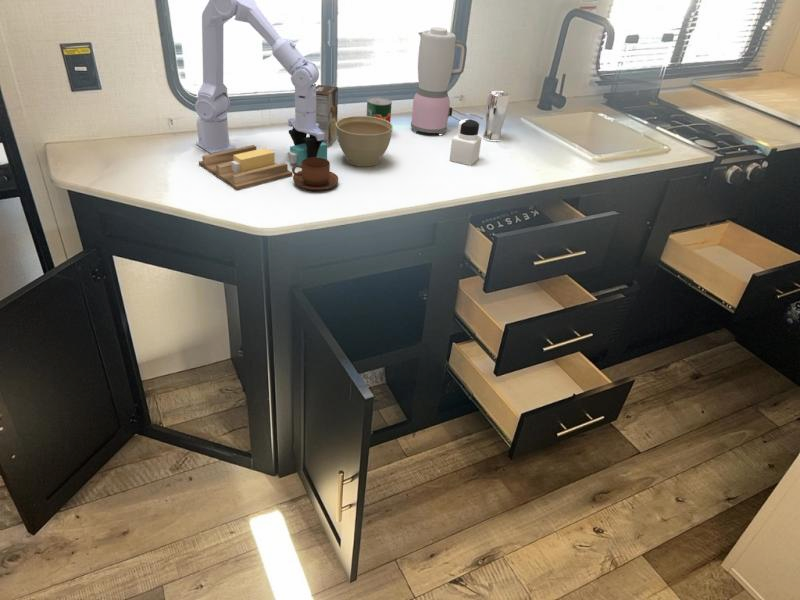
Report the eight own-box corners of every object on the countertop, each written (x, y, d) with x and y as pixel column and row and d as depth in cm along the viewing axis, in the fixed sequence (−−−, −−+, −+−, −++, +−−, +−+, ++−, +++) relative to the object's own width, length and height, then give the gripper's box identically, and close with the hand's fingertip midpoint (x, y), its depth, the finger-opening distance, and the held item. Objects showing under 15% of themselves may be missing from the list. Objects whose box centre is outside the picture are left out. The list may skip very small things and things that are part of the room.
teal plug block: (287, 164, 171) (286, 147, 169) (318, 156, 178) (318, 140, 175) (295, 168, 169) (294, 151, 166) (327, 160, 176) (327, 144, 173)
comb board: (199, 164, 166) (197, 154, 164) (252, 153, 176) (252, 143, 174) (237, 190, 154) (236, 179, 153) (292, 175, 164) (292, 165, 163)
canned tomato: (375, 128, 202) (377, 95, 196) (394, 134, 198) (396, 101, 192) (360, 134, 196) (362, 100, 190) (379, 140, 193) (381, 106, 186)
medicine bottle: (478, 159, 186) (484, 120, 179) (471, 166, 180) (476, 126, 174) (457, 153, 188) (462, 115, 181) (448, 161, 183) (453, 121, 176)
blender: (410, 135, 199) (419, 31, 181) (409, 123, 209) (418, 23, 191) (457, 138, 200) (471, 35, 182) (455, 126, 210) (467, 27, 192)
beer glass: (505, 138, 203) (513, 93, 195) (496, 143, 198) (504, 97, 190) (486, 133, 206) (494, 88, 198) (477, 138, 201) (484, 93, 193)
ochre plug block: (230, 173, 160) (229, 155, 157) (266, 165, 167) (265, 147, 164) (238, 178, 158) (237, 160, 155) (274, 169, 164) (274, 152, 162)
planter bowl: (352, 147, 186) (353, 112, 180) (399, 159, 181) (402, 123, 175) (324, 163, 174) (325, 126, 168) (374, 176, 169) (376, 138, 162)
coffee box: (318, 135, 192) (318, 83, 183) (337, 138, 192) (338, 86, 183) (309, 144, 185) (308, 91, 176) (329, 147, 184) (329, 94, 175)
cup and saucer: (300, 196, 155) (300, 173, 151) (287, 177, 164) (287, 156, 160) (344, 191, 159) (345, 169, 156) (329, 173, 168) (330, 152, 165)
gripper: (333, 115, 163) (333, 162, 171) (302, 101, 171) (303, 147, 179) (312, 119, 159) (312, 168, 166) (281, 104, 167) (283, 151, 175)
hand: (306, 157), depth 172 cm, fingers open, 5 cm apart
